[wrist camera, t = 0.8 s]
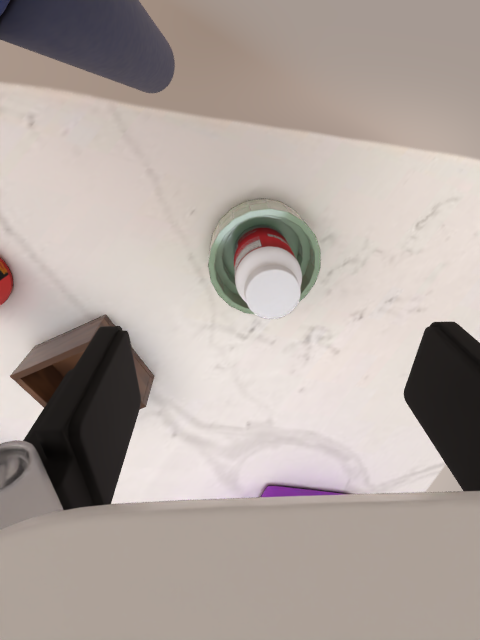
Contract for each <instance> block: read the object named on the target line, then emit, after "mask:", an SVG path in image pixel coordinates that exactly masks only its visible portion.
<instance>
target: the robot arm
mask: <svg viewBox="0 0 480 640" xmlns="http://www.w3.org/2000/svg"><path fill="white" fill-rule="evenodd" d="M404 398H405V401H406V403H407V404H408V406H409V407H410V409H411V410H412V412H413V414H414V415H415V417H416V418H417V420H418V421H419V423H420V424H421V426H422V427H423V429H424V431H425V432H426V434H427V435H428V437H429V438H430V440H431V441H432V443H433V444H434V446H435V448H436V449H437V451H438V452H439V454H440V455H441V457H442V458H443V460H444V462H445V463H446V465H447V466H448V468H449V469H450V471H451V472H452V474H453V475H454V477H455V478H456V480H457V481H458V483H459V485H460V486H461V488H462V489H463V491H458V492H418V493H382V494H349V495H317V496H286V497H258V498H231V499H203V500H178V501H159V502H141V503H122V504H111V501H112V498H113V495H114V491H115V488H116V485H117V482H118V478H119V475H120V472H121V468H122V465H123V462H124V459H125V455H126V452H127V449H128V445H129V442H130V439H131V436H132V432H133V429H134V426H135V422H136V419H137V416H138V413H139V409H140V405H141V394H140V389H139V384H138V379H137V374H136V369H135V364H134V359H133V354H132V349H131V344H130V339H129V334H128V332H127V331H122V328H121V327H120V326H102V327H100V328H99V329H98V330H97V332H96V334H95V335H94V337H93V338H92V340H91V342H90V343H89V345H88V346H87V348H86V350H85V351H84V353H83V354H82V356H81V358H80V359H79V361H78V362H77V364H76V366H75V367H74V369H72V370H69V371H68V372H67V374H66V375H65V376H64V378H63V380H62V381H61V383H60V384H59V386H58V387H57V389H56V391H55V392H54V394H53V395H52V397H51V398H50V400H49V401H48V403H47V405H46V406H45V408H44V409H43V411H42V412H41V414H40V415H39V417H38V419H37V420H36V422H35V423H34V425H33V426H32V428H31V430H30V431H29V433H28V434H27V436H26V437H25V439H24V440H23V441H10V442H5V443H2V444H0V640H480V343H479V342H478V341H477V340H475V339H474V338H473V337H472V336H471V335H470V334H469V333H467V332H466V331H465V330H464V329H463V328H462V327H460V326H459V325H458V324H457V323H455V322H434V323H432V324H431V325H430V327H427V328H426V329H425V331H424V334H423V337H422V340H421V343H420V346H419V349H418V352H417V354H416V357H415V360H414V363H413V366H412V369H411V372H410V375H409V378H408V381H407V383H406V386H405V389H404Z"/></svg>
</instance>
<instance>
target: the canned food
mask: <svg viewBox="0 0 480 640" xmlns="http://www.w3.org/2000/svg"><path fill="white" fill-rule="evenodd" d="M12 287H13V278H12V274H11V272H10V269H9V267H8V266H7V265H6V263H5V262H4V261H3V260H2V259H1V258H0V305H2V304H3V303H4V302H5V301H6V300H7V299H8V297H9V295H10V293H11V291H12Z"/></svg>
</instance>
